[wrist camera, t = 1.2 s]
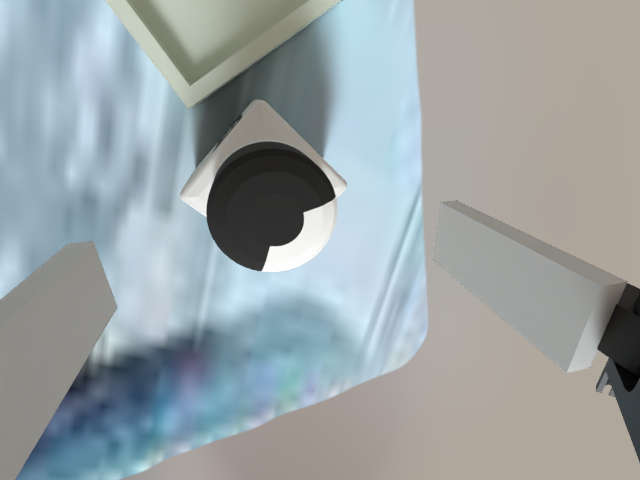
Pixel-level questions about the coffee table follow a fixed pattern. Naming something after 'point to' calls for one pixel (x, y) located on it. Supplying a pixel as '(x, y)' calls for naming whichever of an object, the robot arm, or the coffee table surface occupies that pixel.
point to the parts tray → (212, 36)
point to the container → (265, 193)
